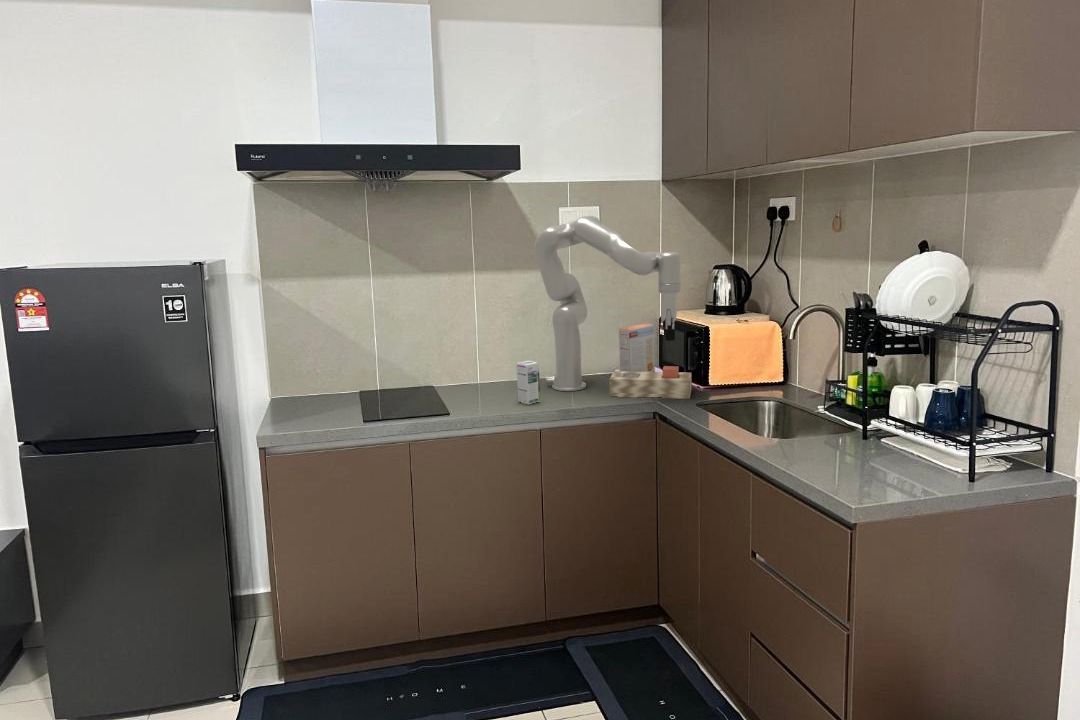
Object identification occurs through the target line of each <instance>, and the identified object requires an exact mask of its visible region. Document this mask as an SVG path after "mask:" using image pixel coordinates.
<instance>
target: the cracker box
mask: <svg viewBox="0 0 1080 720" xmlns="http://www.w3.org/2000/svg"><path fill="white" fill-rule="evenodd" d="M618 339H619V340H618V341H619V342H618V343H619V345H618V346H619V370H620V371H628V372H656V368H655V367H656V365H655V364H656V363H655V362H656V361H655V359H656V358H655V325H654V324H650V323H640V324H636V325H631V326H630V325H629V326H627V327H626V326H625V327H621V328H619V329H618Z"/></svg>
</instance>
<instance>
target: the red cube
mask: <svg viewBox="0 0 1080 720" xmlns="http://www.w3.org/2000/svg"><path fill="white" fill-rule="evenodd" d="M679 368H680V367H679V366H677V365H675V366H672V365H670V366H669V365H664V366H663V367H662V372H663V378H679Z"/></svg>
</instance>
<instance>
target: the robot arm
mask: <svg viewBox="0 0 1080 720" xmlns="http://www.w3.org/2000/svg"><path fill="white" fill-rule="evenodd" d="M582 243H584V244H586V245H588V246H589V247H592V248H593V249H596V250H597V251H599V252H601V253H603V254H604V255H606V256H607V257H609V259H611V260H613V262H615V263H616V264H617V265H619V266H621V267H622V268H624V269H626V270H627V271H629V272H632V273H633V274H636V275H639V276H644V277H645V276H648V275H651V274H653V273H657V274H658V277H657V278H658V284H657V285H658V293H659V294H661V299H660V302H661V303H660V304H661V305H660V306H661V307H660V312H661V313H660V314H661V316H660V322H664V321H665V329H664V330H665V331H664V332H665V333H664V334H665V341H667V342H669V341H676V328H675V322H676V319H677V314H678V293H681V291H682V290H681V255H680V253H679V252H677V251H664V252H657V251H645V252H641V251H640V250H637V249H636V248H634V247H632V246H631V245H629V244H627V243H626V242H625V241H624V240H623V238H622V236H621V234H620V233H618V232H617V231H615V230H613V229H611V228H610V227H608V226H606V225H604V224H602V221H601V220H600V219H599V218H598V217H596V216H593V215H586V216H584V215H583V216H581V217H579V218H577V219H576V220H574V221H571V222H566V223H564V224H558V225H552V226H551V225H550V226H548V227H546V228H544V229H543V230H542V231H541V232H540V233H539V234H537V237H536V239H535V240H534V247H533V252H534V255H535V256H534V258H535V260H536V262H537V266H538V268H539V271H540V276H541V279H542V281H543V285H544V288H545V292H546V295H547V296H548V297H549V299H550V300H552V301H553V302H559V304H560V305H559V306H557V307H555V310H554V311H553V313H552V317H551V318H552V326H553V327H552V328H553V334H554V347H555V348H554V349H555V352H554V353H555V375H553V376H551V375H546V376H545V377H544V379H545V380H544V381H545V382H547V383H552V388H553V389H554V390H556V391H561V392H574V391H581V390H583V389H585V388H586V387H587V384H586V382H584V381H583V380H582V379H583V378H582V377H583V375H582V343H581V342H582V341H581V334H580V329H579V326H580V325H581V324H583V323H584V322H585V321H586V319H587V317H588V306H587V303H586V301H585V298H584V297H585V296H584V294H583V291H582V288H581V286H580V283H579V281H578V279H577V278H576V277H575V276H574V275H573V274H572V273H568V272H566V271H565V269H564V265H563V262H562V260H561V258H560V256H559V254H558V250H561V249H564V248H565V249H566V248H569V247H571V246H572V247H573V246H576V245H579V244H582Z"/></svg>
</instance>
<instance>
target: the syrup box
mask: <svg viewBox="0 0 1080 720" xmlns="http://www.w3.org/2000/svg"><path fill="white" fill-rule="evenodd" d="M540 378H541V377H540V363H539V362H538V361H534V360H525V361H521V362H516V381H517V395H518V396H517V397H518V398H517V399H518V402H519V401H521V402H525V403H533V402H538V401H542V398H541V380H540Z"/></svg>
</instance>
